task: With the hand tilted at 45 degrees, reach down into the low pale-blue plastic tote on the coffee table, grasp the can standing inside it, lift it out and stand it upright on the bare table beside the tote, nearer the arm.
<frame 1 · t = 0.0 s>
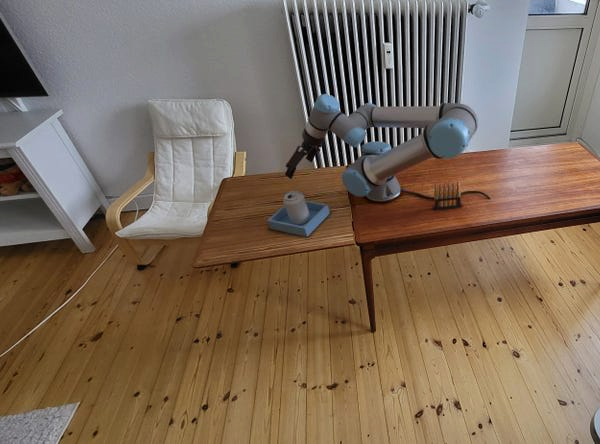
hand: (299, 168, 149), 15 cm above the table, tool tilted 35°, fingers open, 13 cm apart
can: (301, 220, 147), resting on tote
ammunition clip: (447, 207, 152), on the table
tote: (301, 220, 147), on the table
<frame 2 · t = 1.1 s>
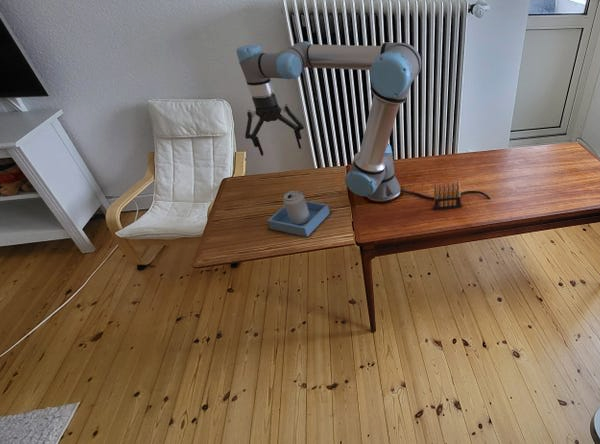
hand: (281, 150, 141), 25 cm above the table, tool pointing down, fingers open, 13 cm apart
nothing on the table moved.
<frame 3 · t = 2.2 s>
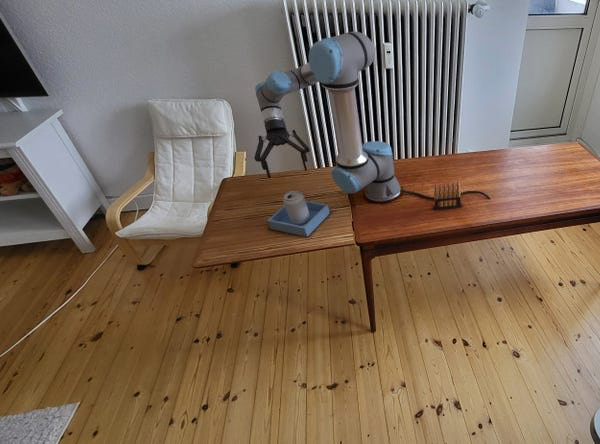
hand: (287, 173, 145), 16 cm above the table, tool tilted 45°, fingers open, 13 cm apart
nothing on the table moved.
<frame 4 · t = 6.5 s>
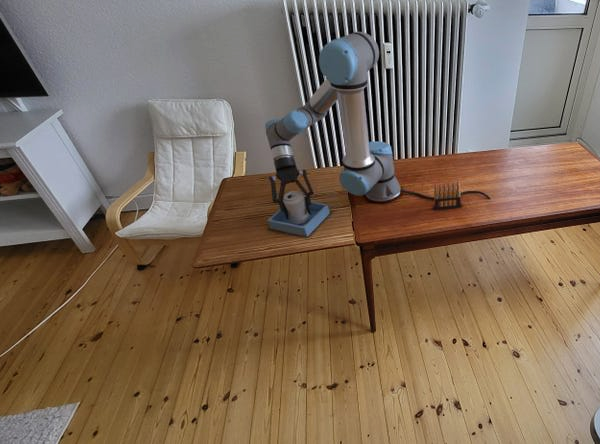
hand: (298, 216, 142), 5 cm above the table, tool tilted 45°, fingers closed on can, 7 cm apart
can: (301, 220, 147), resting on tote, touching gripper
everything else where it was.
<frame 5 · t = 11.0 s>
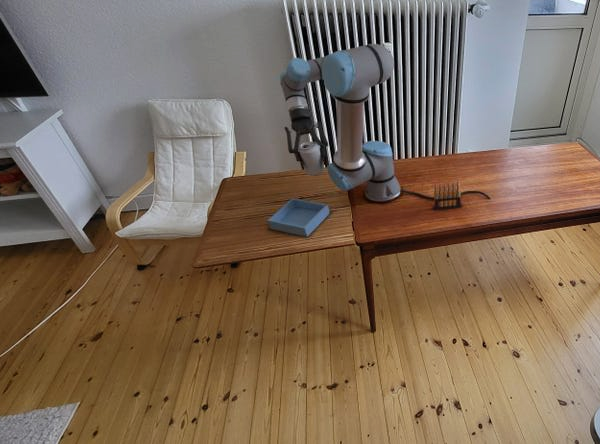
hand: (314, 166, 144), 18 cm above the table, tool tilted 45°, fingers closed on can, 7 cm apart
can: (315, 172, 149), point 14 cm above the table, touching gripper
everything else where it was.
when the fingers open (4 cm above the table, at t = 15.5 s): can stays where it is, on the table.
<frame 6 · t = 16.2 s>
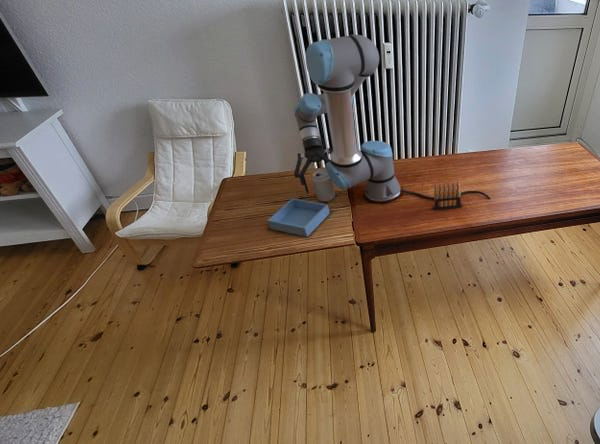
hand: (324, 188, 154), 6 cm above the table, tool tilted 45°, fingers open, 13 cm apart
can: (326, 198, 160), on the table
everything else where it was.
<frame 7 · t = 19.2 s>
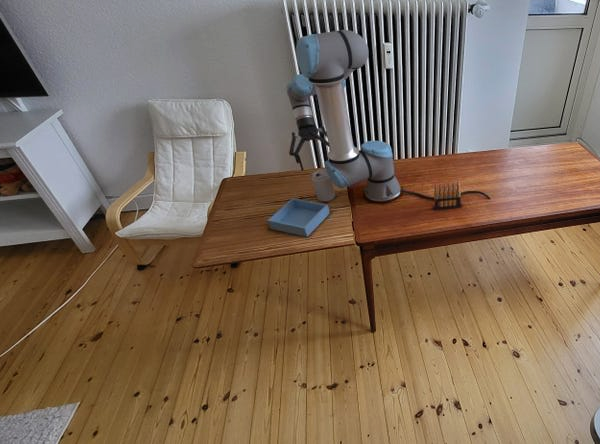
hand: (318, 166, 162), 9 cm above the table, tool tilted 40°, fingers open, 13 cm apart
nothing on the table moved.
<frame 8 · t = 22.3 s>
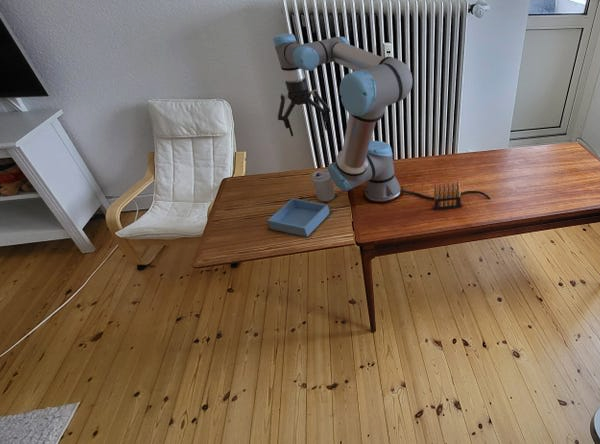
hand: (309, 132, 154), 25 cm above the table, tool pointing down, fingers open, 13 cm apart
nothing on the table moved.
at the end: can inside the target area (0.1 cm from its centre), on the table; can tilted 0°; the gripper is holding nothing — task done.
